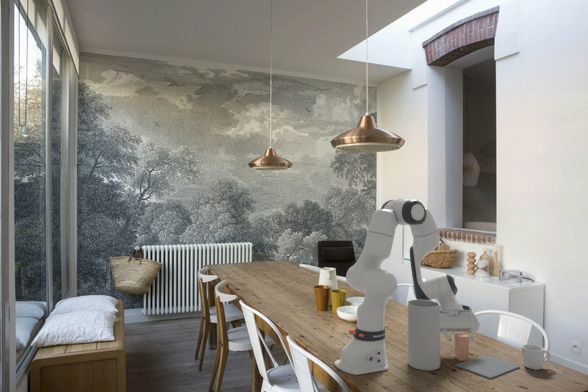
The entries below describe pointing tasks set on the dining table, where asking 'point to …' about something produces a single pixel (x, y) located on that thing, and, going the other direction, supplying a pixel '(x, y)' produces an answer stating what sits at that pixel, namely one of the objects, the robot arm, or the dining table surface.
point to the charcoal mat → (487, 366)
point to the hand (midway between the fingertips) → (460, 340)
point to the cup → (534, 356)
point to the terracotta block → (462, 347)
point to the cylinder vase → (424, 334)
